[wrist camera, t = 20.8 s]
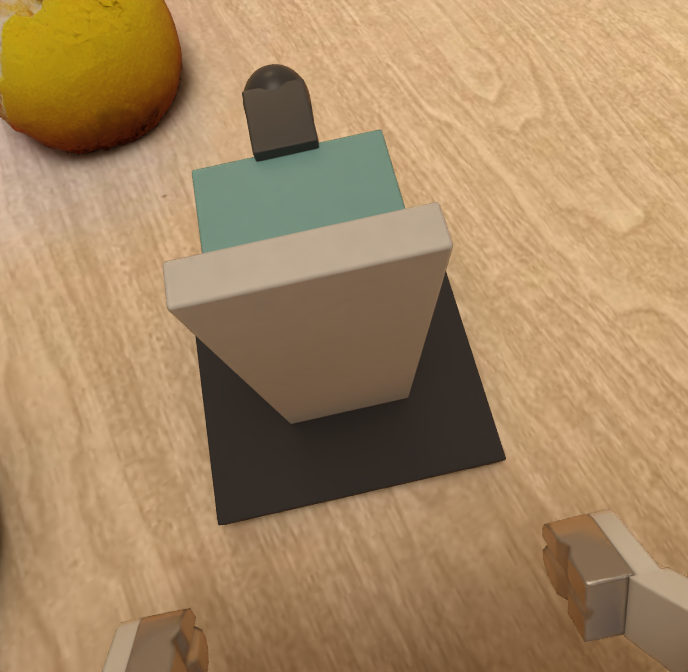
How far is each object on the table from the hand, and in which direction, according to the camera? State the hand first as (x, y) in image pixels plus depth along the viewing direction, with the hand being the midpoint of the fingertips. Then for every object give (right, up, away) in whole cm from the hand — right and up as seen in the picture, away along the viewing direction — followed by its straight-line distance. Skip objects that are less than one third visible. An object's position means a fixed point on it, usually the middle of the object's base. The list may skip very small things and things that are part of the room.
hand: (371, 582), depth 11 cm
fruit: (-15, +20, +18) cm, 31 cm away
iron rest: (-1, +4, +12) cm, 12 cm away
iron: (-1, +5, +11) cm, 12 cm away
